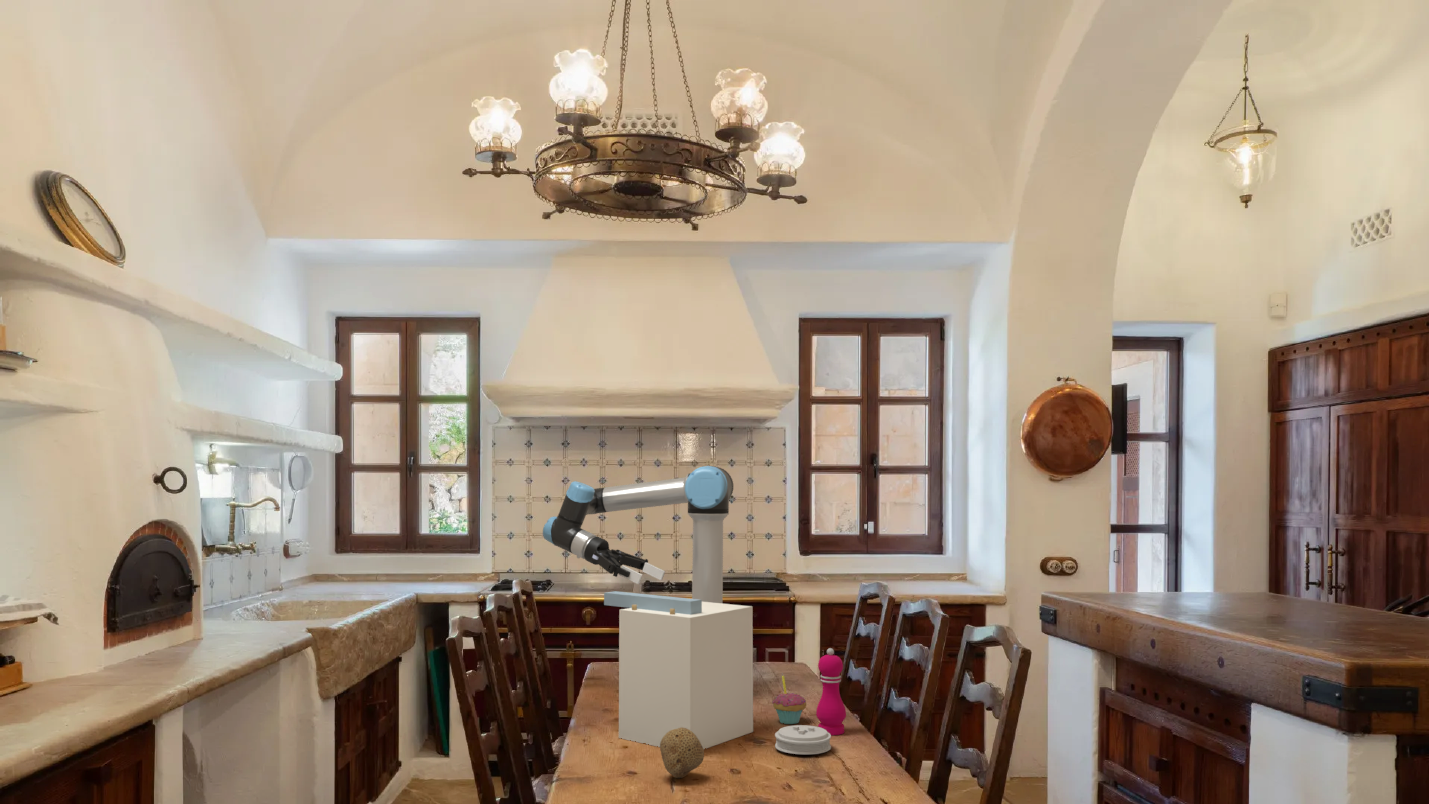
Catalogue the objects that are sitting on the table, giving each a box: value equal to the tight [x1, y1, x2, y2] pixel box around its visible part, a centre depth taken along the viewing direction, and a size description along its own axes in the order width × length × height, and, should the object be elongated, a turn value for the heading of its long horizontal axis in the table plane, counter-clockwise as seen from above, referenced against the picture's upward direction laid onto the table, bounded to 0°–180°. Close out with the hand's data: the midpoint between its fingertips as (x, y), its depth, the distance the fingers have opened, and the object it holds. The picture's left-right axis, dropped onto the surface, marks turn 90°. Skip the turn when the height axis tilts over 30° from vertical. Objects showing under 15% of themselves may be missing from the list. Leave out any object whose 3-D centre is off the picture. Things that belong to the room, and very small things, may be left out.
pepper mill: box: [815, 647, 847, 736], centre depth 235 cm, size 7×7×20 cm
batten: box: [603, 590, 702, 615], centre depth 233 cm, size 28×4×3 cm, turn 52°
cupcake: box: [771, 672, 807, 725], centre depth 244 cm, size 9×8×12 cm
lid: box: [774, 724, 832, 755], centre depth 219 cm, size 13×13×5 cm
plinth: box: [618, 602, 754, 750], centre depth 233 cm, size 22×24×31 cm
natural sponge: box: [659, 727, 705, 779], centre depth 199 cm, size 9×9×10 cm
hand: (652, 577), depth 268 cm, fingers open, 13 cm apart
